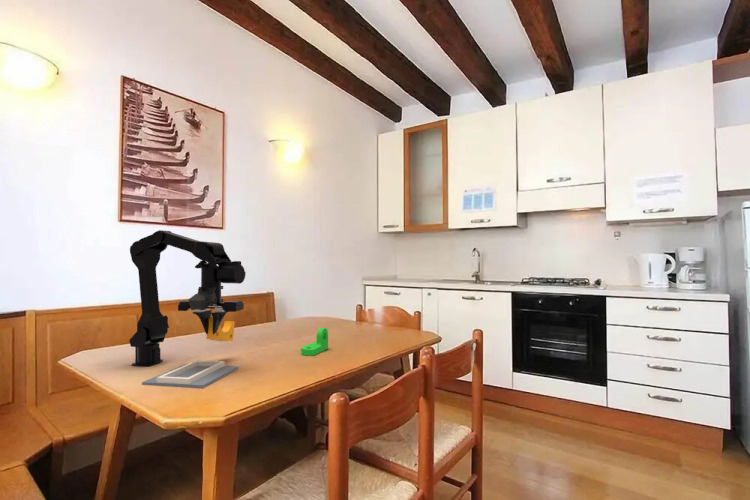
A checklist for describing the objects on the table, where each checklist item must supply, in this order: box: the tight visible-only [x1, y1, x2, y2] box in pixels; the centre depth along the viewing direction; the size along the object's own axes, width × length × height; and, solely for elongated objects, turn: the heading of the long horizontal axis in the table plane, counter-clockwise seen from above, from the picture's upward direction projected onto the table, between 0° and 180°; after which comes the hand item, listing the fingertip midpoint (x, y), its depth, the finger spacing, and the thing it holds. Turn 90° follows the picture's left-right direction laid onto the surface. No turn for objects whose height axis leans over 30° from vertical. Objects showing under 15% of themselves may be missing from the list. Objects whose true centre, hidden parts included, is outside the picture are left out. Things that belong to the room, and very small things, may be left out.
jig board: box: [141, 359, 239, 389], centre depth 112 cm, size 18×18×2 cm
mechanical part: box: [300, 327, 329, 357], centre depth 143 cm, size 12×6×8 cm, turn 160°
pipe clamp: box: [205, 316, 236, 342], centre depth 126 cm, size 12×4×6 cm, turn 173°
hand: (210, 333), depth 120 cm, fingers closed on pipe clamp, 2 cm apart
